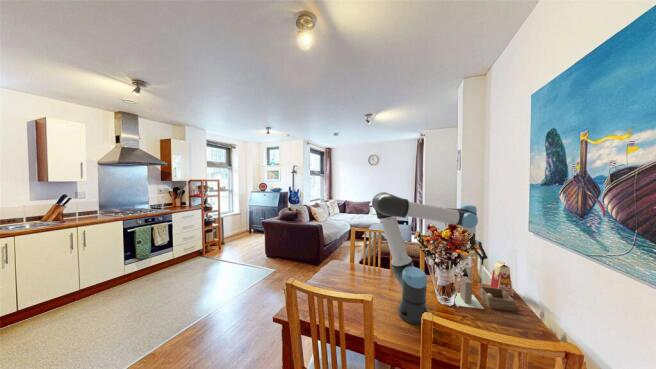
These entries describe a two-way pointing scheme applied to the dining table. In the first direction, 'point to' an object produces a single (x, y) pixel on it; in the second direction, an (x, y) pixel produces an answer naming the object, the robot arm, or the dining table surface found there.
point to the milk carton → (502, 278)
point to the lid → (466, 295)
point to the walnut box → (497, 298)
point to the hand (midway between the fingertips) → (465, 268)
